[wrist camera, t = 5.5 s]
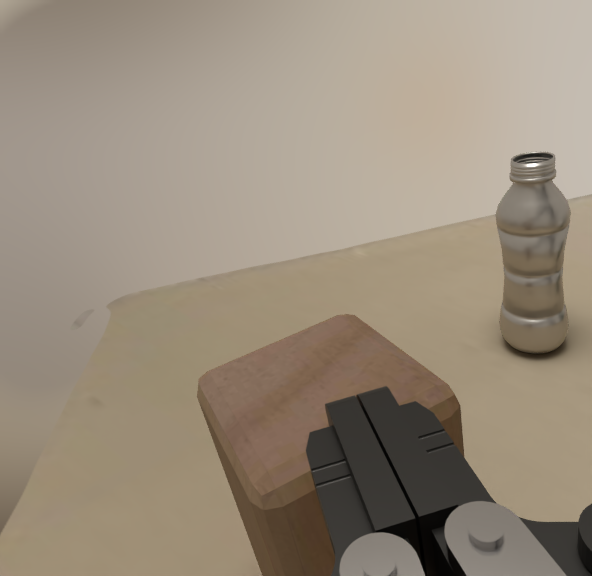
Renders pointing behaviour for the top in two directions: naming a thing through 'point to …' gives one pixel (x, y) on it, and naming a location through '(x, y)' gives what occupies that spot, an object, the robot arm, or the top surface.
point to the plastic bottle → (533, 255)
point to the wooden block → (302, 428)
